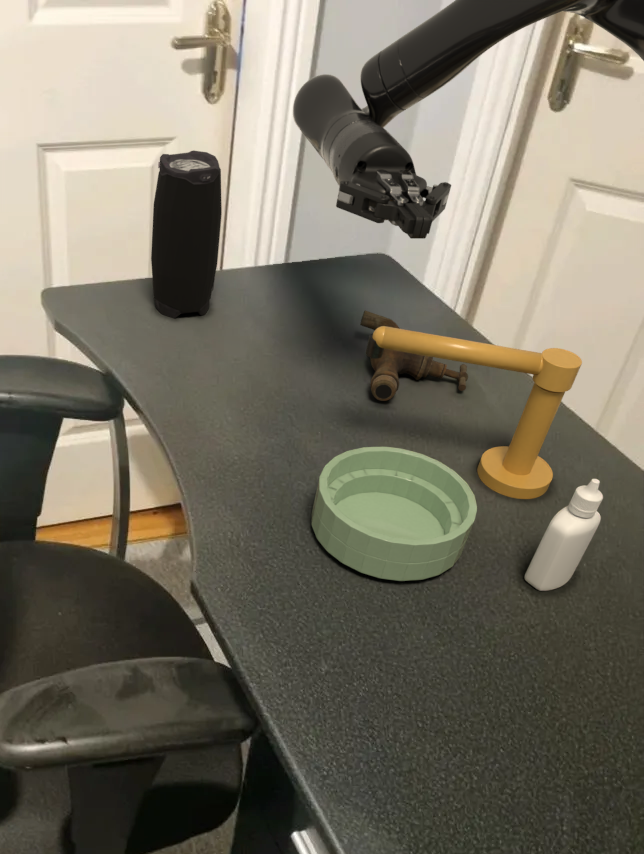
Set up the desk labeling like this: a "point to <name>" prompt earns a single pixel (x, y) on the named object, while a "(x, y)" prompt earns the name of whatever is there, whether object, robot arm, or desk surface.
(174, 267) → the portable speaker
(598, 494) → the eye dropper bottle
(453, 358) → the spout
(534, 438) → the tap base
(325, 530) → the basin
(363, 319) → the faucet
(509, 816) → the desk surface
